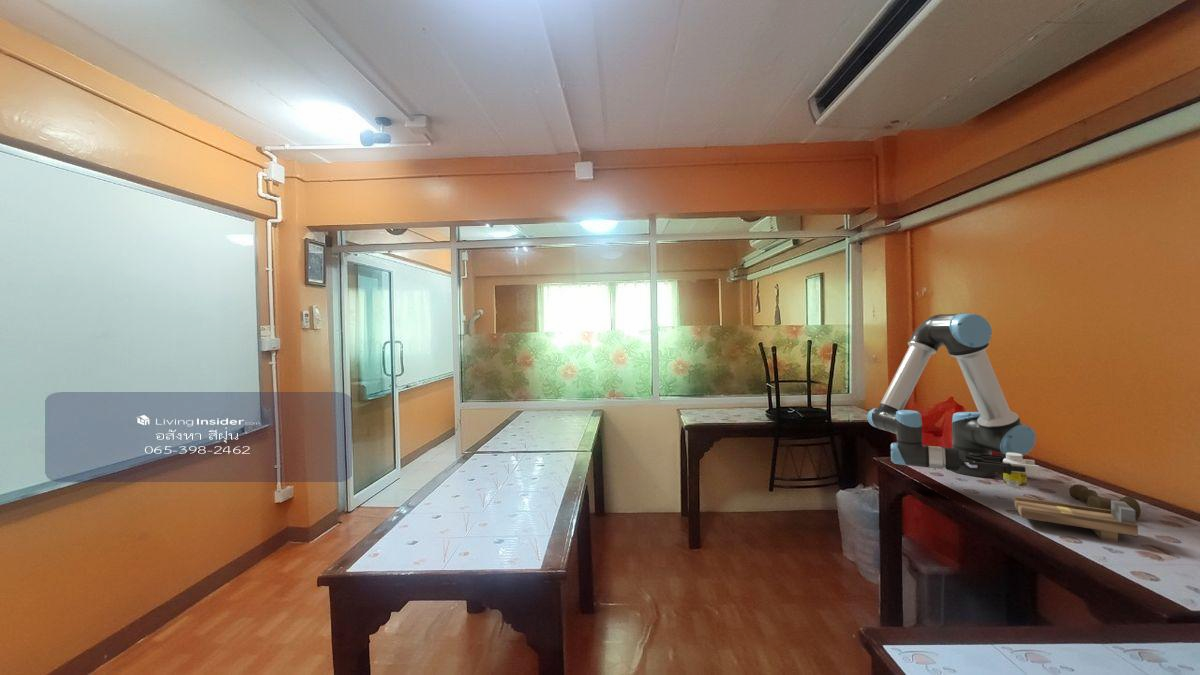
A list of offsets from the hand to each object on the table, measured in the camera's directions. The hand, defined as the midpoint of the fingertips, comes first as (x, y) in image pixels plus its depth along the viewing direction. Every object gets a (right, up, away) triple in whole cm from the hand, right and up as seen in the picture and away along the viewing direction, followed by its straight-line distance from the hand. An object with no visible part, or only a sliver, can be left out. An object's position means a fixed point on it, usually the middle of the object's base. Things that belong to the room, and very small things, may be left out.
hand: (1036, 467), depth 141 cm
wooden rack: (-6, -12, -16) cm, 21 cm away
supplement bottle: (-4, -7, +3) cm, 9 cm away
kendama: (+16, -12, -5) cm, 20 cm away
